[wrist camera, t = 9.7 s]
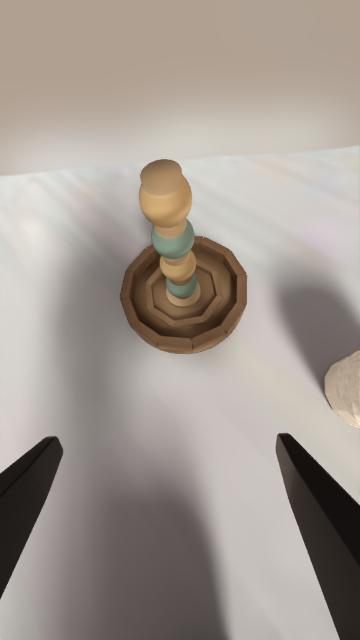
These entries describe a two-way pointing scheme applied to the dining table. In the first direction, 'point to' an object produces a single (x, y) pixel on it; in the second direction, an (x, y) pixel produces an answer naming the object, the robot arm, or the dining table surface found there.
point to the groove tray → (192, 322)
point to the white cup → (345, 388)
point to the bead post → (171, 228)
